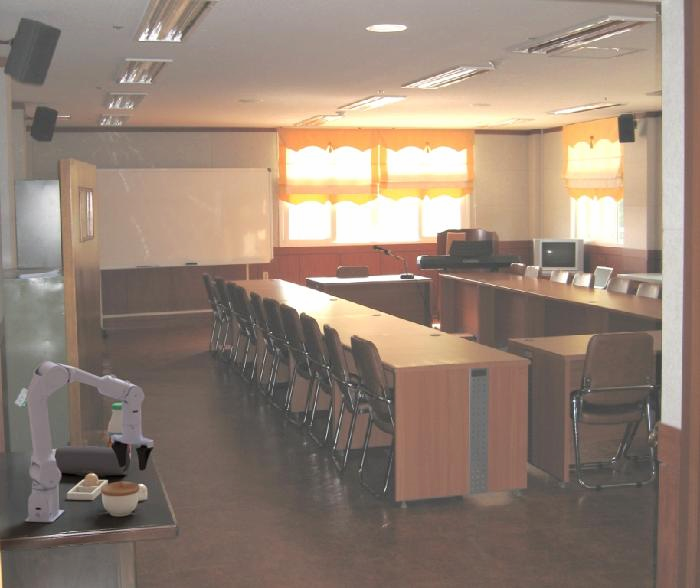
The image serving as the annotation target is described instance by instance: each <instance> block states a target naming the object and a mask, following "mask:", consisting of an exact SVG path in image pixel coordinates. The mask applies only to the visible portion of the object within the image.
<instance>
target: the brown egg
mask: <svg viewBox="0 0 700 588" xmlns="http://www.w3.org/2000/svg"><path fill="white" fill-rule="evenodd" d="M98 480H99V476H97V475H96V474H93V473H90V474H88V475H86V476H84V486H98Z"/></svg>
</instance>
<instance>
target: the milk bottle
mask: <svg viewBox="0 0 700 588" xmlns="http://www.w3.org/2000/svg"><path fill="white" fill-rule="evenodd" d="M111 413H112V414H111V417H110V420H109V422H108V426H107V447H111V445H113V444H114V443H113V442H111V436H113V435H122V402H115V403H112V404H111ZM131 446H132V445H131V444H128V446H127V449H128V451H129V455H130V460H131V459H132V451H131V450H132V449H131V448H132V447H131Z"/></svg>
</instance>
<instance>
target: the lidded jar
mask: <svg viewBox="0 0 700 588" xmlns="http://www.w3.org/2000/svg"><path fill="white" fill-rule="evenodd" d="M138 499H139V485H138V483H135V482H130V481H122V480H119V481H115V482H110V483H109V482H108V484H106V485H104V486H103V487H102V488H101V500H102V504H103V505H102V506H103V507H104V509H105V510H106V511H107V512H108V513H109V515H110V516H112V517H126V516H129V515H132V512H133V511H134V510H135V509H136V507H137V505H138V503H139V501H138Z"/></svg>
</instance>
